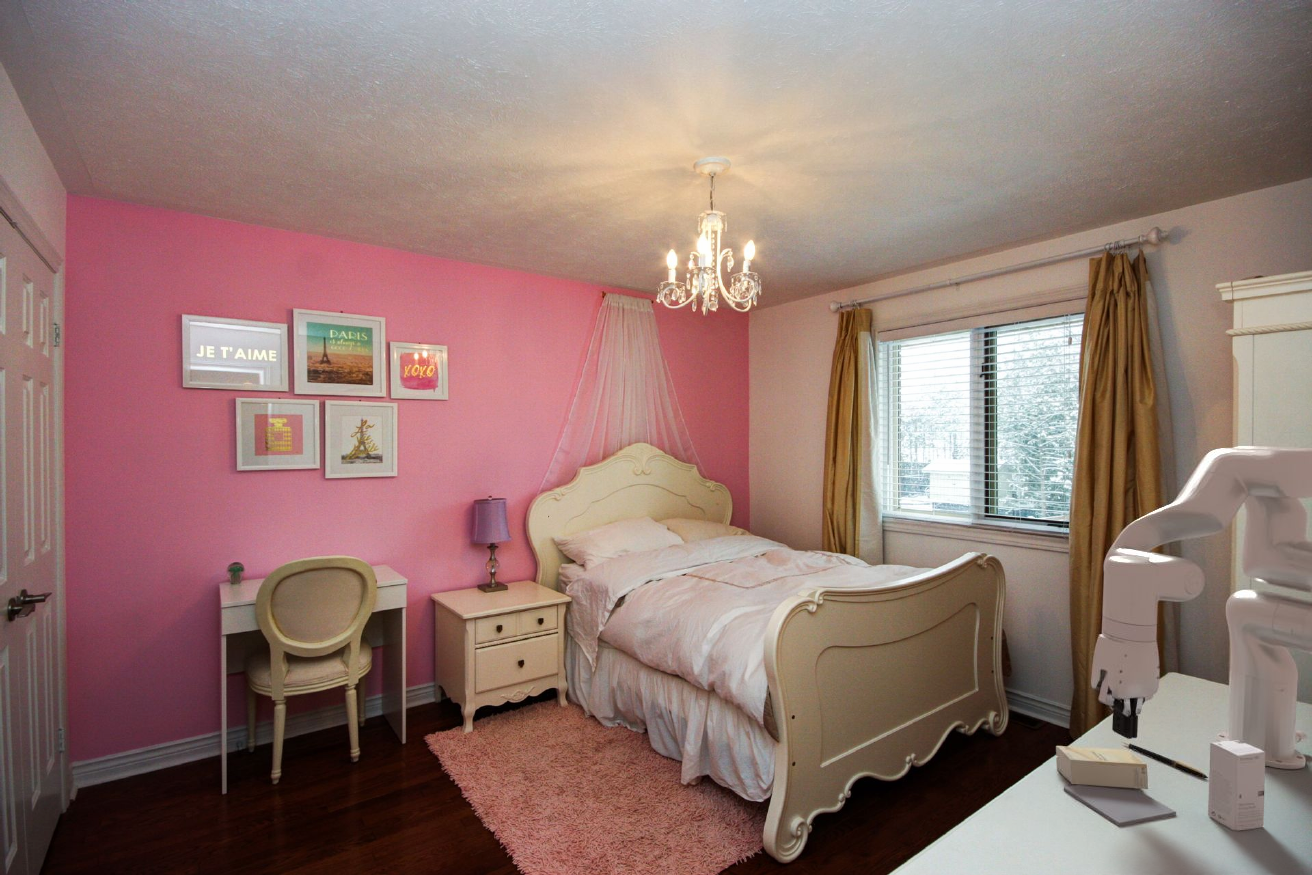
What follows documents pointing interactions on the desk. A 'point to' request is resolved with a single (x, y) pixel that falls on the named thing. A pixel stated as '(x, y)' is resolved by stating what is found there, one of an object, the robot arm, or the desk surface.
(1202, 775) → the fountain pen
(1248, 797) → the skincare box
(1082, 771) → the skincare box
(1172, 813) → the mat
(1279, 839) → the desk surface
